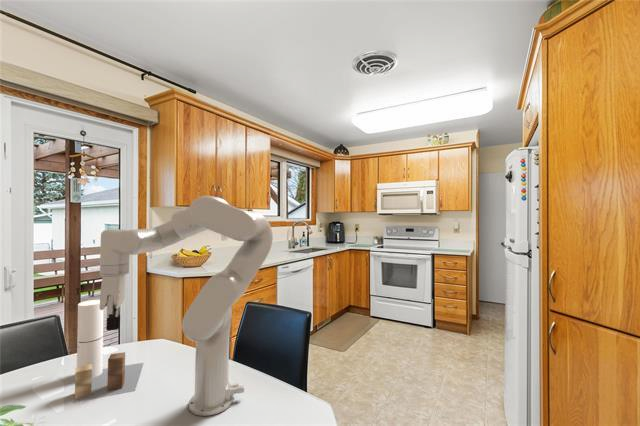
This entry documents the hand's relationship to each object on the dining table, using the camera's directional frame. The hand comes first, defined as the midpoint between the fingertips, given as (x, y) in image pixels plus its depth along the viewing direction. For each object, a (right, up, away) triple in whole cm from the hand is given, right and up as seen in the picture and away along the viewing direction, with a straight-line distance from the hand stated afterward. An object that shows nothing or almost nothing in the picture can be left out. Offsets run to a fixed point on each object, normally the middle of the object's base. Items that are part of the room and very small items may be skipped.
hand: (113, 329), depth 93 cm
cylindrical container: (-17, -21, +12) cm, 29 cm away
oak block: (-10, -21, +1) cm, 23 cm away
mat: (-6, -21, +9) cm, 24 cm away
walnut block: (-3, -21, +5) cm, 22 cm away
